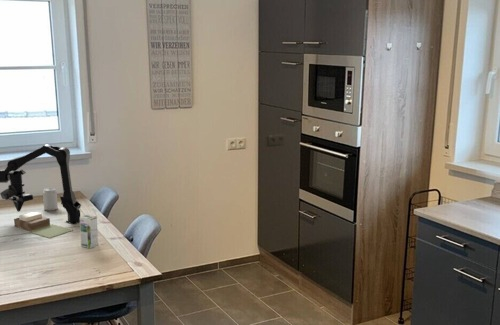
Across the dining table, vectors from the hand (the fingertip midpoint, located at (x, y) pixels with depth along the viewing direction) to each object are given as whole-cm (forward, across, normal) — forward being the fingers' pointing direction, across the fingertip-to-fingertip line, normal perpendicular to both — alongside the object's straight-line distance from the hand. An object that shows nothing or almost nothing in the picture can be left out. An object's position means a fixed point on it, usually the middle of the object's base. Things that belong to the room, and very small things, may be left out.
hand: (18, 211), depth 283 cm
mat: (+6, +26, 0) cm, 27 cm away
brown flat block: (+6, +11, 0) cm, 12 cm away
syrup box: (+6, +58, -3) cm, 58 cm away
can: (+6, -7, +25) cm, 27 cm away
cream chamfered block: (+2, +10, 0) cm, 10 cm away
